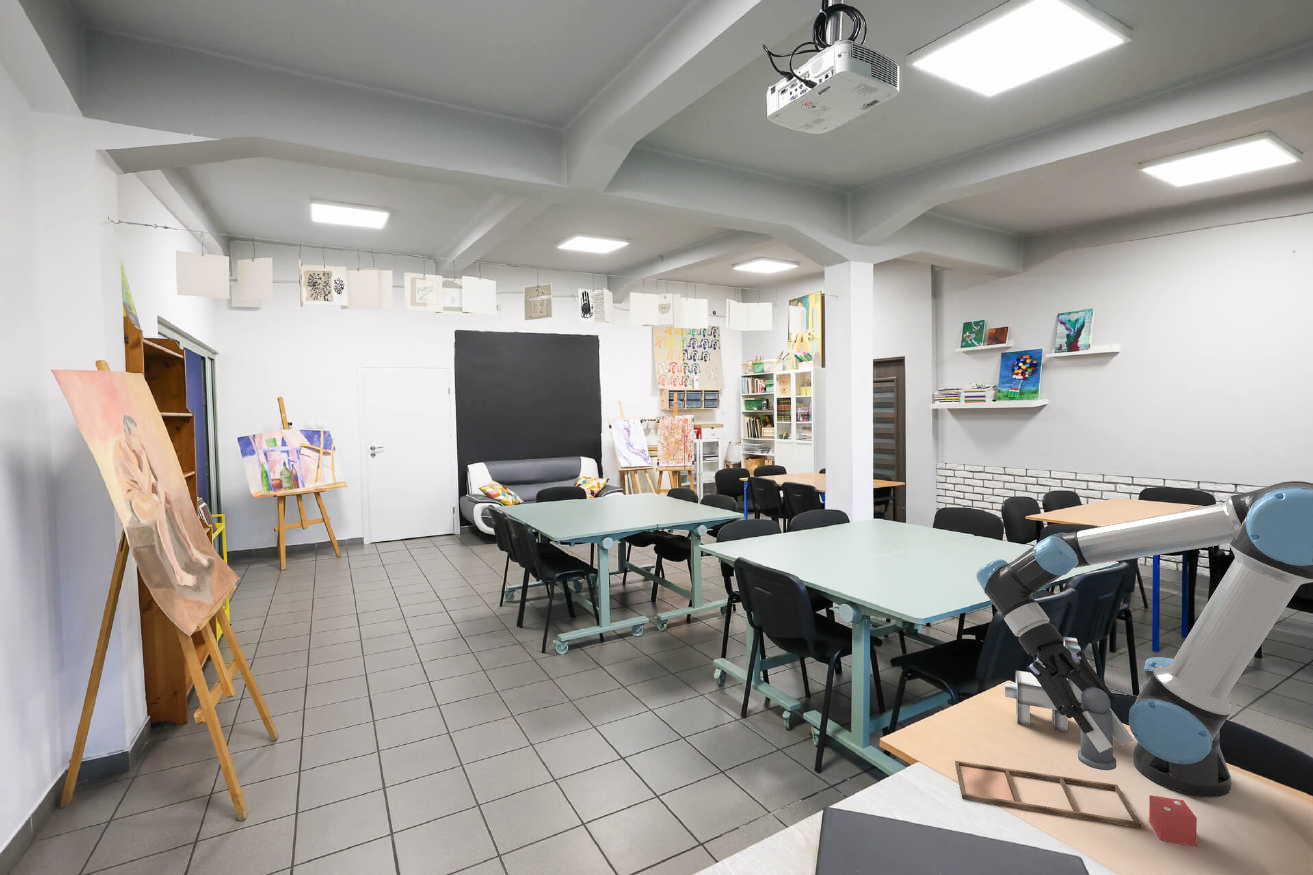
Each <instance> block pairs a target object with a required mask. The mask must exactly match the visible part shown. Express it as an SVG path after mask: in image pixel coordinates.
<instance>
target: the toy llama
mask: <svg viewBox="0 0 1313 875" xmlns="http://www.w3.org/2000/svg"><path fill="white" fill-rule="evenodd" d="M1078 642H1079V641H1078V639H1077V638H1076V637H1068V636H1063V645H1064V646H1065V647H1066V648H1067V649H1069V650H1070V652H1074V653H1077V652H1079V651H1082V649H1081V647H1080V645H1079V643H1078ZM1087 661H1088V663H1089V664H1090V665H1091V662H1090V660H1088V659H1087ZM1091 666H1092V665H1091ZM1073 670H1074V669H1073ZM1073 670H1072V671H1073ZM1072 671H1071V672H1072ZM1067 680H1068V682H1069V684H1070V686H1071V688H1072V690H1073V692H1074V694H1075V696H1076V698H1077V700H1078V702H1079V704H1082V701H1081V694H1082V691H1081V690H1080V689H1079V688H1078V687H1077V686H1076V685H1075V684H1074V683H1073V682H1072V681H1071V680H1070V679H1067ZM1004 696H1005V698H1007V699H1008V698H1010V699H1015V711H1016V712H1015V714H1016V721H1017V725H1023V726H1027V727H1030V726H1031V707H1036V708H1042V709H1048V710H1051V719H1052V720H1051V721H1053V727H1054V731H1055V732H1060V733H1067V734H1068V732H1069V718H1067V717H1066V715H1061V714H1060V713H1059V712H1058V710H1057V709H1056V707H1055V706H1054V704H1053V703H1052V701H1051V700H1050V698H1049V697H1048V695H1047V694H1046V692H1045V691H1044V689H1043V688H1042V686H1041V685H1040V683H1039V682H1038V680H1037V679H1036V677H1034V676H1033V675H1032V674H1031V673H1030V672H1029V671H1021V670H1015V683H1008V682H1004ZM1063 707H1064V706H1063Z"/></svg>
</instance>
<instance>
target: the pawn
mask: <svg viewBox="0 0 1313 875" xmlns="http://www.w3.org/2000/svg"><path fill="white" fill-rule="evenodd" d="M1081 701H1082V703H1081V704H1080V706H1081V708H1082V713H1083V712H1085V711H1088V713H1089V714H1090V716H1091V717H1092V718H1093V720H1094V721H1095V723H1096V724H1097V725H1098V727H1099V728H1100V730H1101V731H1102V732H1103V734H1104V735H1105V737H1106V738H1107V740H1108V741H1109V742H1110V744H1111V745H1112V747H1111V748H1109V749H1107V750H1105V751H1103V752H1100V753H1099V751H1098V750H1097V749H1096V747H1095V746H1094V744H1093V743H1092V741H1091V740H1090V738H1089V737H1088V736H1087V734H1085V733H1084V732H1083V731H1082V730H1081V728H1080V727H1079V728H1080V729H1079V731H1080V732H1079V733H1080V748H1079V749H1078V750H1077V759H1078V760H1079V762H1081V763H1082V764H1083V765H1086V766H1087V767H1089V768H1092V769H1096V770H1100V771H1113V770H1115V769H1117V759H1116V757H1115V756H1114V748H1113V747H1114V744H1113V743H1114V742H1113V740H1114V739H1113V737H1114V736H1113V731H1112V711H1111V710H1109V708H1110V705H1111V704H1112V703H1111V702H1110V699H1109V697H1108V695H1107V694H1106V693H1105V692H1104V691H1102V690H1101V689H1098V688H1094V687H1092V688H1087V689H1085V690H1084V691H1083V692H1082V694H1081ZM1111 706H1112V705H1111Z"/></svg>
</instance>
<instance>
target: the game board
mask: <svg viewBox="0 0 1313 875" xmlns="http://www.w3.org/2000/svg"><path fill="white" fill-rule="evenodd" d="M954 766H955V771H956V774H957V780H958V783H959V784H958V785H959V789H960V795H961V798H962V799H963V800H964V799H965V800H968V801H969V800H970V801H975V802H981V803H988V804H993V805H999V806H1006V807H1012V808H1015V809H1016V808H1017V809H1024V810H1030V811H1035V812H1036V811H1037V812H1042V813H1046V814H1047V813H1048V814H1054V815H1059V816H1065V817H1072V818H1078V819H1083V820H1089V821H1095V822H1101V823H1106V824H1113V825H1120V826H1124V827H1131V828H1137V829H1142V823H1141V821H1140V819H1139V817H1138V816H1137V815H1136V813H1135V810H1133V808H1132V806H1131V805H1130V803H1129V801H1128V800H1127V798H1126V797H1125V795H1124V793H1123V792H1122V790H1121V789H1120V786H1119V785H1118V784H1115V783H1109V782H1101V781H1094V780H1087V779H1082V778H1081V779H1080V778H1074V777H1068V776H1061V775H1054V774H1053V775H1052V774H1049V773H1048V774H1047V773H1041V772H1034V771H1028V770H1027V771H1026V770H1020V769H1015V768H1014V769H1013V768H1008V767H1000V766H995V765H994V766H993V765H988V764H979V763H974V762H973V763H972V762H968V761H967V762H965V761H960V760H954ZM1011 775H1014V776H1020V777H1025V778H1026V777H1027V778H1033V779H1041V780H1045V781H1046V780H1048V781H1052V782H1053V781H1054V782H1059V783H1060V786H1061V788H1062V790H1063V792H1064V794H1065V796H1066V799H1067V800H1068V803H1069V805H1070V807H1071V809H1072V810H1070V809H1063V808H1057V807H1051V806H1046V805H1045V806H1044V805H1038V804H1033V803H1027V802H1021V801H1020V799H1019V796H1018V793H1017V790H1016V787H1015V785H1014V782H1013V779H1012V776H1011ZM1066 783H1067V784H1072V785H1073V784H1074V785H1080V786H1086V787H1092V788H1099V789H1106V790H1114V791H1115V793H1116V794H1117V796H1118V798H1119V800H1120V801H1121V803H1122V804H1123V806H1124V808H1125V810H1126V812H1127V813H1128V815H1129V816H1130V818H1131V819H1132V820H1131V819H1124V818H1118V817H1113V816H1112V817H1111V816H1105V815H1100V814H1096V813H1095V814H1093V813H1088V812H1081V811H1079V808H1078V806H1077V805H1076V802H1075V800H1074V798H1073V796H1072V794H1071V792H1070V790H1069V788H1068V786H1067V784H1066Z"/></svg>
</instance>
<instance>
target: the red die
mask: <svg viewBox="0 0 1313 875" xmlns="http://www.w3.org/2000/svg"><path fill="white" fill-rule="evenodd" d="M1148 800H1149V802H1148V804H1149V807H1148V809H1149V810H1148V811H1149V813H1148V814H1149V815H1148V816H1149V817H1148V821H1149V824H1150V825H1151V827H1152V828H1153V830H1154V831H1155V834H1156V835H1157V836H1158V838H1159V839H1160V841H1163V842H1164V841H1165V842H1171V843H1175V844H1181V845H1188V846H1193V847H1197V840H1198V838H1197V836H1198V835H1197V833H1198V831H1197V828H1198V827H1197V826H1198V820H1197V819H1198V818H1197V816H1196V815H1195V814H1194V812H1193V811H1192V809H1191V808H1190V807H1189V805H1188V804H1187V803H1186V802H1185V801H1184V799H1176V798H1171V797H1165V796H1159V795H1158V796H1157V795H1151V794H1149V798H1148Z"/></svg>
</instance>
